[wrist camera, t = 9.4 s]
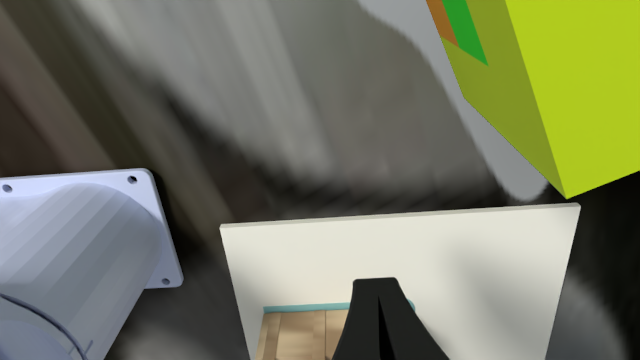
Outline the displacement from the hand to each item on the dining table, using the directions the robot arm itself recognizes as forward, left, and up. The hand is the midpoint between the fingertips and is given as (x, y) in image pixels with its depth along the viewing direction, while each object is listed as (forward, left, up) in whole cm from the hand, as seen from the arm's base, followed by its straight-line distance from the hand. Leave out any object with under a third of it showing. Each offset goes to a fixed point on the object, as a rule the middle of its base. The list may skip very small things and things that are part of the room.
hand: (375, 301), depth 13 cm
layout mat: (+2, -12, -10) cm, 16 cm away
